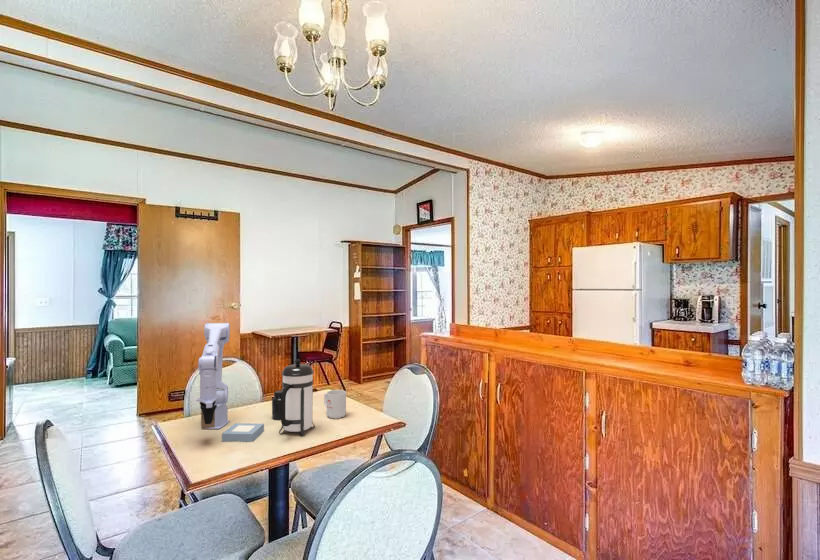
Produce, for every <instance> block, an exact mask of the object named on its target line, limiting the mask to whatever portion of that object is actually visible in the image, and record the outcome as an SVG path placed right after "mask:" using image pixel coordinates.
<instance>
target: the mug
mask: <svg viewBox="0 0 820 560" xmlns="http://www.w3.org/2000/svg"><path fill="white" fill-rule="evenodd" d="M323 403H324V407H325V408H326V416H327V417H328V418H329V419H331V418H339V419H342V418H341V417H343V418H344V417H345V416H346V414H347V391H346V390H342V389H332V390H328V391H327V392H326V393H323Z"/></svg>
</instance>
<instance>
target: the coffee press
mask: <svg viewBox="0 0 820 560" xmlns="http://www.w3.org/2000/svg"><path fill="white" fill-rule="evenodd" d="M314 371H315V370H314V369H313V368H312V366H311V365H309V364H306V363H301V359H299V358H297V359H295V361H294V364H289V365H287V366H285V367H284V368H283V370H282V371H281V375H282V381H281V382H282V383H281V386H282V388H281V390H282V395H281V420H280V422H281V427H280V429H279V431H278V433H279V434H280V435H281V434H282V435H284V433H285V432H291V433H292V432H293V433H299V435H300V437H305V436H306V435H305V431H306V430H308V429H310V428H311V429H313V428H314V429H315V428H316V426H315V423H313V402H314V401H313V397H314V395H313V393H314V392H313V390H314V387H313V385H314V378H313V376H314V375H313V374H314ZM312 425H313V426H312ZM282 430H283V431H282ZM281 431H282V432H281Z"/></svg>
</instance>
